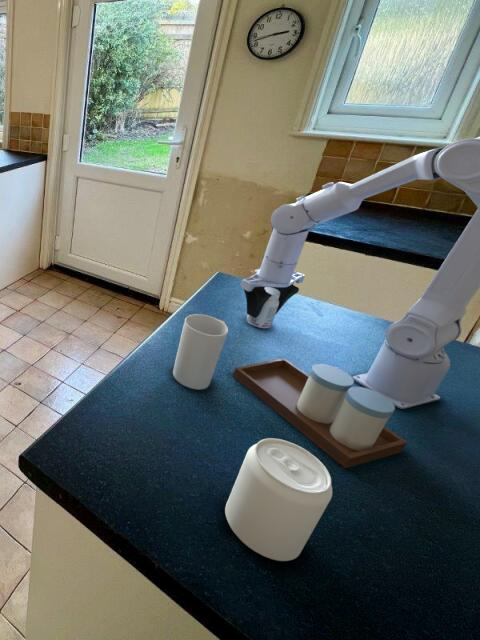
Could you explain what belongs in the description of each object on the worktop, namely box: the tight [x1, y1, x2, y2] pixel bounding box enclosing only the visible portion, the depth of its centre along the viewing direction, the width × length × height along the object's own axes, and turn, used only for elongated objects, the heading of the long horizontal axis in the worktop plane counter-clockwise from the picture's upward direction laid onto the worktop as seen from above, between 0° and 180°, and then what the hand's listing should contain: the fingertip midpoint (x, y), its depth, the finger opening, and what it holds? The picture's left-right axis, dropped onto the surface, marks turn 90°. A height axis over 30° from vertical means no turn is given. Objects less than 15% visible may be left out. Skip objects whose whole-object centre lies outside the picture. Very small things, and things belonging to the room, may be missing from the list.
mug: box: [172, 313, 229, 390], centre depth 75 cm, size 10×7×12 cm, turn 118°
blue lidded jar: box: [330, 386, 396, 451], centre depth 62 cm, size 5×5×8 cm
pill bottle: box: [246, 287, 280, 329], centre depth 92 cm, size 5×5×8 cm
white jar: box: [297, 363, 355, 423], centre depth 67 cm, size 5×5×8 cm
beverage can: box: [224, 437, 333, 562], centre depth 50 cm, size 8×8×12 cm
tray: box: [232, 357, 408, 469], centre depth 70 cm, size 11×20×2 cm, turn 14°
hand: (261, 313), depth 92 cm, fingers closed on pill bottle, 5 cm apart
